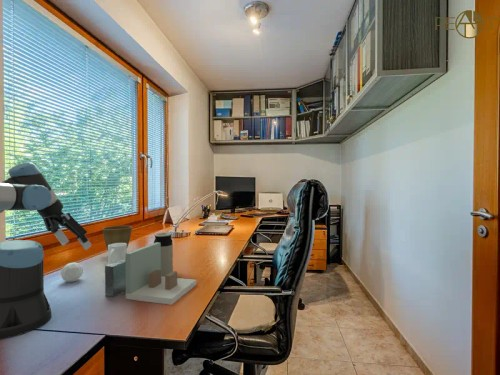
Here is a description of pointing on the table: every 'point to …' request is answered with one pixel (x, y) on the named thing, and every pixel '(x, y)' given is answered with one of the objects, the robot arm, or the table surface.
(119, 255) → the mug
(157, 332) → the table surface
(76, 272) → the ball
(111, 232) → the plant pot
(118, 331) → the table surface
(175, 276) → the l-shaped bookend
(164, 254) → the travel mug
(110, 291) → the grey rectangular box
